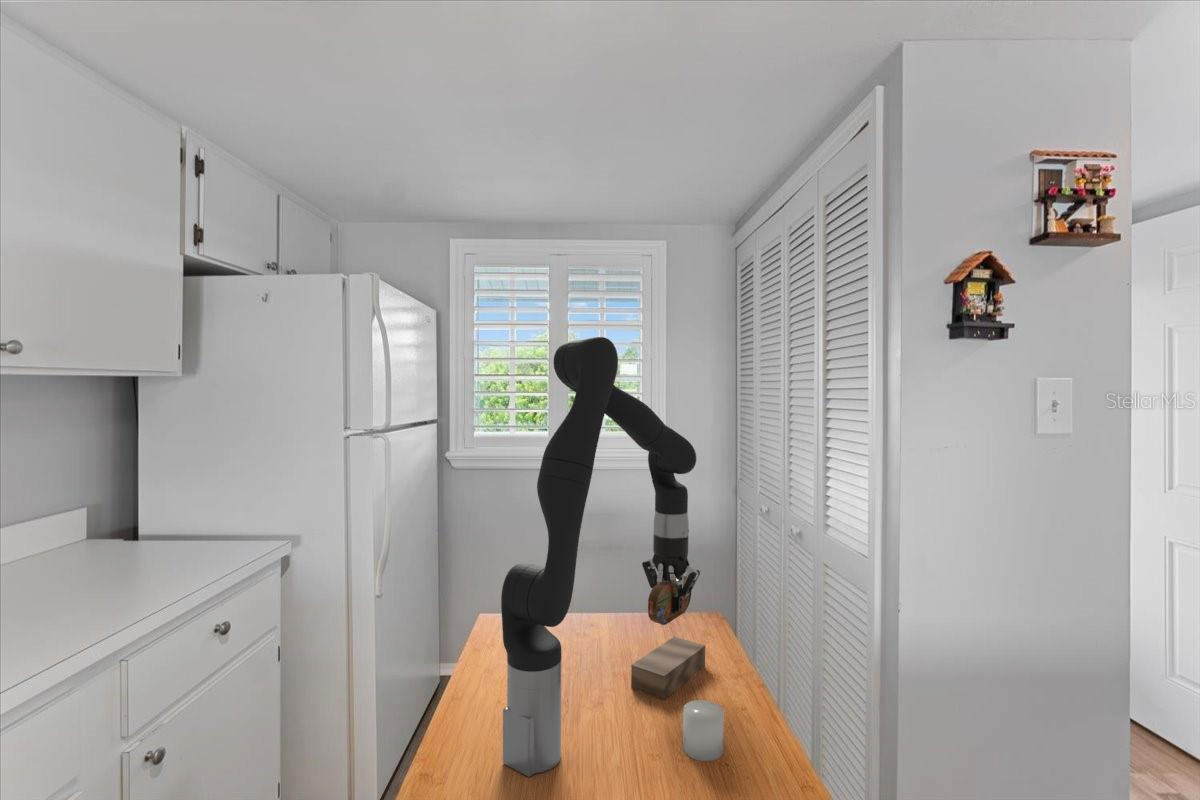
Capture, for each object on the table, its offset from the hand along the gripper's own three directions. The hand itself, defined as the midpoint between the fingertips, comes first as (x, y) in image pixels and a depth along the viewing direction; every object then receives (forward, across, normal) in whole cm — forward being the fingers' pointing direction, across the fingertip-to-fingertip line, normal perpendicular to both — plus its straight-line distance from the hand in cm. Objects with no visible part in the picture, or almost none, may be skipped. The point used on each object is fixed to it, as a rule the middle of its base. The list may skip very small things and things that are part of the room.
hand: (669, 610), depth 136 cm
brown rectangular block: (+15, 0, 0) cm, 15 cm away
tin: (+2, 0, 0) cm, 2 cm away
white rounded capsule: (+15, +18, -19) cm, 30 cm away
